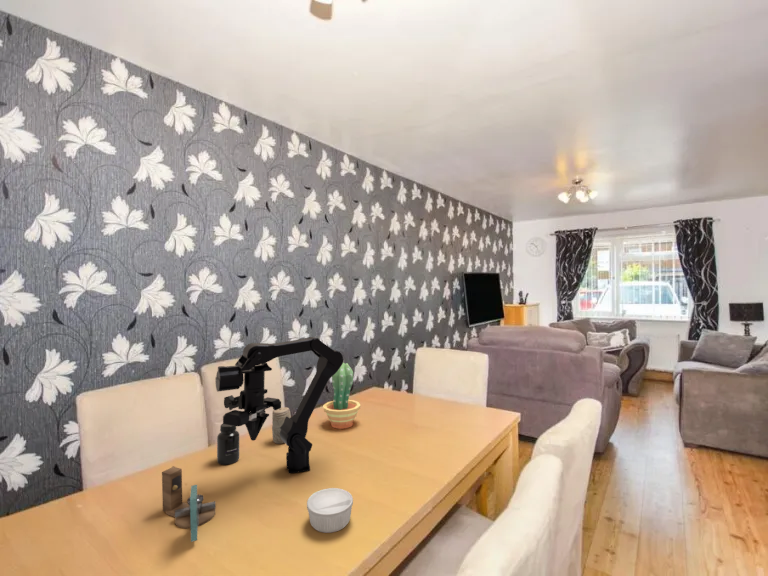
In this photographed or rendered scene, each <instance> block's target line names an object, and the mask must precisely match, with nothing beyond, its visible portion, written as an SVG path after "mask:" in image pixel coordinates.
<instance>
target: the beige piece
mask: <svg viewBox="0 0 768 576" xmlns="http://www.w3.org/2000/svg"><path fill="white" fill-rule="evenodd" d="M271 414H272V417H271V418H272V419H271V420H272V422H271V423H272V425H271V429H272V431H271V433H272V435H271V436H272V442H273V443H275V444H280V445H281V444H285V443H284V442H283V441H282V439H281V438H280V431H281V429H280V427H281V426H282V425H283V423H284V420H285V418H286V417H289V418H291V417H292V416H291V410H290V407H287V406H286V407H284V406H281V408H280V409H278V410H274V409H273V410H272V413H271Z"/></svg>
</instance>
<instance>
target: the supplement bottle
mask: <svg viewBox="0 0 768 576" xmlns="http://www.w3.org/2000/svg"><path fill="white" fill-rule="evenodd" d="M216 459H217V461H216V462H217V464H219V465H223V466H226V465H231V464H234V463H237V462H238V461H239V459H240V433H239V431H238V430H237V426H232V425H227V424H223V423H222V424H220V430H219V433H218V434H217V436H216Z"/></svg>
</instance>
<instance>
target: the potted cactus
mask: <svg viewBox="0 0 768 576" xmlns="http://www.w3.org/2000/svg"><path fill="white" fill-rule="evenodd" d="M331 382H332V383H331V385H332V387H333V400H331V401H327V402H325V403H324V404H323V406H322V407H323V411H324V413H326V417H327V420H328V421H330V423H331V427H332V428H334V429H340V430H341V429H347V428H350V427H352V426H353V425H354V420H355V419H356V417H357V415H358V411H359V410H360V409H361V404H360V402H359V401H357V400H355V399H350V398H349V397H350V393H351V389H352V386H353V384H354V371H353V369H352V367H350V365H349V363H345V362H343V364H342V366H341V367H340V368H339V370H338V371H337V373H335V374H334V375H333V376H332V377H331Z"/></svg>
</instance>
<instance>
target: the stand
mask: <svg viewBox="0 0 768 576" xmlns="http://www.w3.org/2000/svg"><path fill="white" fill-rule="evenodd" d="M161 482H162V483H161V486H162V493H161V494H162V495H161V498H162V511H163V512H165V514H166V515H168V516H171V517H174V519H175V520H174V523H175V525H176V526H177V527H178V528H180V529H191V518H190V514H189V515H185V516H180V517H176V518H175V510H179V509H183V508H187V507H189V504H188V503H187V502H184V501H183V471H182V468H180V467H176V466H172V467H169V468H168V469H166V470H163V471H162V472H161ZM202 504H205V502H204V503H203V502H202ZM215 515H216V507H215V508H214V509H210V510H206V511H202V512H201V513H199V525H198V527H200V526H203V525H204V524H206V523H208V522H210V521H211V520H212V519H213V518H214V517H215Z"/></svg>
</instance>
